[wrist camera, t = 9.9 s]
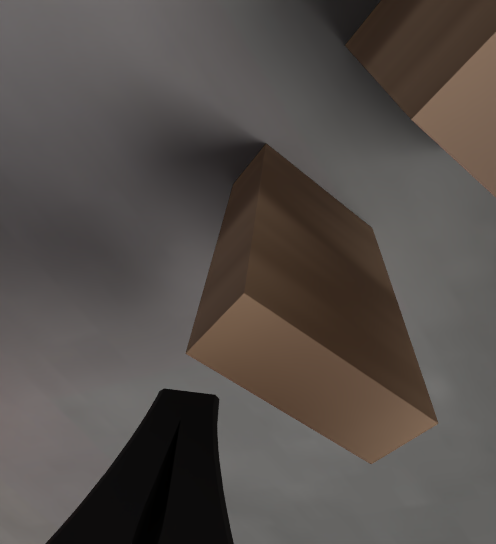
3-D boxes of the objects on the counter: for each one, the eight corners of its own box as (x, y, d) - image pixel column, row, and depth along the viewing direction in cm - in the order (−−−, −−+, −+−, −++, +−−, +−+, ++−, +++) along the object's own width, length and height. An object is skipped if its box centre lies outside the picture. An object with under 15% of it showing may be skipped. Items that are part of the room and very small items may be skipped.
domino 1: (233, 184, 13) (185, 353, 7) (266, 143, 12) (244, 292, 6) (336, 261, 14) (370, 464, 8) (372, 228, 13) (438, 423, 7)
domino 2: (344, 45, 11) (411, 118, 5) (392, -14, 10) (537, -11, 4) (456, 149, 12) (620, 312, 6) (506, 102, 11) (748, 235, 5)
